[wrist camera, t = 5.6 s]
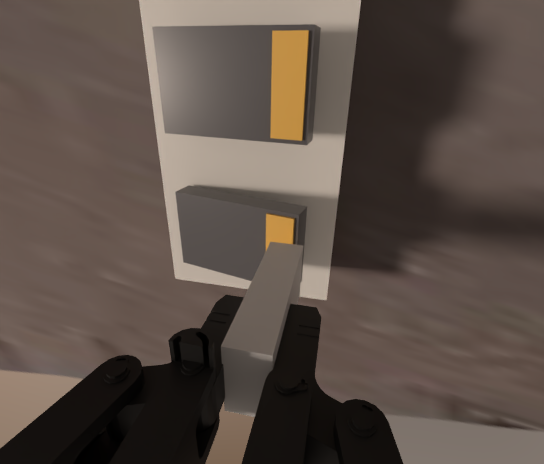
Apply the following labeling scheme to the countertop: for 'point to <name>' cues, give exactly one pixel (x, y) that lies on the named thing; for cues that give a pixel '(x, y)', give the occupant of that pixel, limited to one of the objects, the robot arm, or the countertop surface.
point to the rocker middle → (239, 81)
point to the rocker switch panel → (256, 154)
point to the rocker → (234, 229)
